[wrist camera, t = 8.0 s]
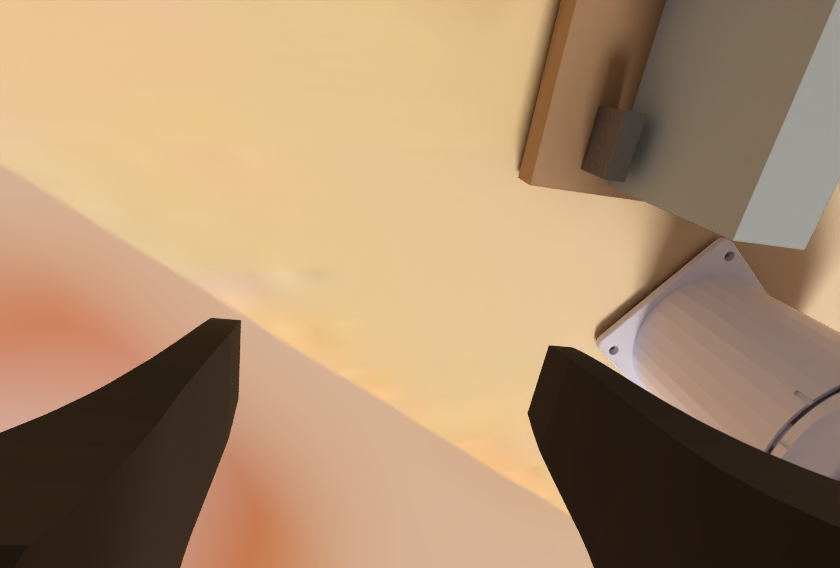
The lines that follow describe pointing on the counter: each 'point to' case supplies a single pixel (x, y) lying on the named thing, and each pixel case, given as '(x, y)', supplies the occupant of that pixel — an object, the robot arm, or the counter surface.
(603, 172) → the short dark cabinet legs
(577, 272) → the counter surface
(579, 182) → the cabinet base
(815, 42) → the grey rectangular block
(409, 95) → the counter surface
